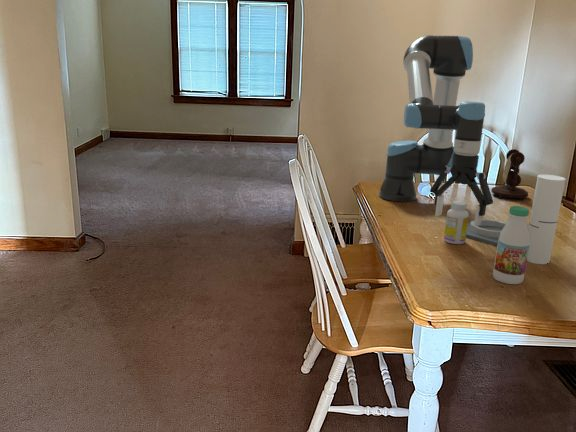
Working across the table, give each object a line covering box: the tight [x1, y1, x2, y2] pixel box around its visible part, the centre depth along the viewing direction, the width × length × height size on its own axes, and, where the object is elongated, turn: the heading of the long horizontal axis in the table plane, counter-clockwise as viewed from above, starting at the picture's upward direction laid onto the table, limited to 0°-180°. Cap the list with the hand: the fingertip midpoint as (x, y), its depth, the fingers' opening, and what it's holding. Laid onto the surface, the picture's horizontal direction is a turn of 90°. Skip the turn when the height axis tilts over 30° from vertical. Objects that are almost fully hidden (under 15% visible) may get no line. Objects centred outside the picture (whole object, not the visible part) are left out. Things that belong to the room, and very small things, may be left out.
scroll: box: [490, 148, 529, 201], centre depth 224 cm, size 15×15×20 cm
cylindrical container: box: [527, 174, 566, 265], centre depth 152 cm, size 7×7×25 cm
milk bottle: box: [492, 205, 530, 285], centre depth 138 cm, size 8×8×20 cm
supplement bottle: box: [443, 200, 470, 245], centre depth 167 cm, size 7×7×13 cm
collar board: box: [466, 218, 507, 247], centre depth 177 cm, size 20×20×3 cm
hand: (457, 220), depth 167 cm, fingers open, 13 cm apart
